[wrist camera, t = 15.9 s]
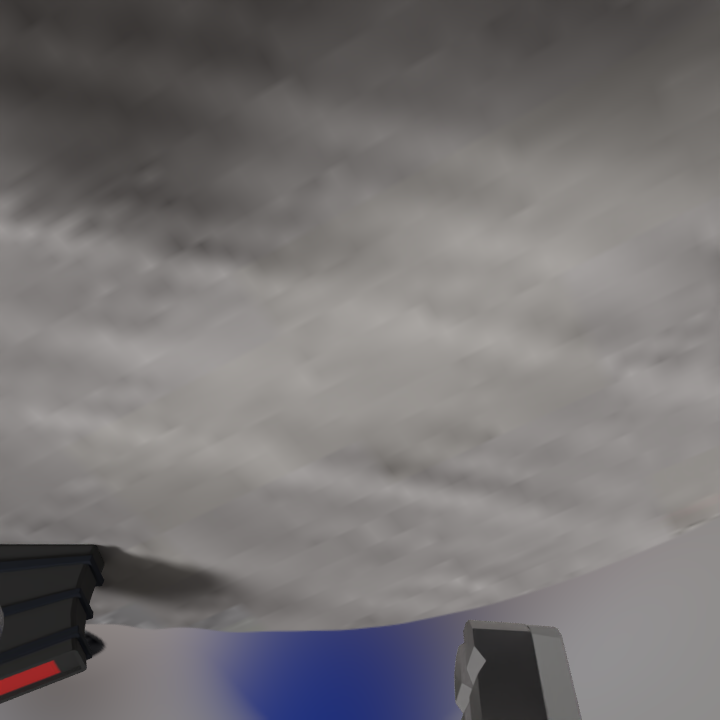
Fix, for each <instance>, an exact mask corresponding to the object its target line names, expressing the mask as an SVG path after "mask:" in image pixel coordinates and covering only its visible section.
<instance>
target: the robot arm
mask: <svg viewBox="0 0 720 720" xmlns="http://www.w3.org/2000/svg"><path fill="white" fill-rule="evenodd" d="M3 628H4V614H3V611H2V609H1V606H0V638H1V635H2V631H3ZM463 632H464V643H463V644H461V645H460V646H459V647H458V651H457V656H456V662H455V673H454V674H455V675H454V678H455V700H456V704H457V705H458V707H459V708H460V710H461V711H462V712H463V716H462V719H461V720H582V719H581V714H580V710H579V706H578V701H577V697H576V693H575V689H574V685H573V681H572V676H571V673H570V668H569V664H568V660H567V656H566V651H565V647H564V643H563V639H562V635H561V633H560V632H559V630H558V629H557V628H555V627H549V626H536V625H526V624H519V623H504V622H491V621H490V622H489V621H476V620H475V621H474V620H468V621H467V622H466V624H465V627H464V631H463Z"/></svg>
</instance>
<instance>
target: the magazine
mask: <svg viewBox="0 0 720 720" xmlns="http://www.w3.org/2000/svg"><path fill="white" fill-rule="evenodd" d="M103 567H104V562H103V560H102V557H101V555H100V553H99V551H98V548H97V547H96V546H95V545H0V606H1V609H2V611H3V614H4V628H3V631H2V635H1V638H0V704H1V703H3V702H6V701H8V700H11V699H13V698H16V697H19V696H21V695H24V694H26V693H29V692H31V691H34V690H36V689H39V688H42V687H44V686H47V685H49V684H52V683H55V682H57V681H60V680H62V679H65V678H67V677H70V676H73V675H75V674H78V673H80V672H83V671H85V670H86V668H87V667H86V660H88V659H90V658H92V650H91V648H90V646H89V644H88V642H87V640H86V639H85V632H84V630H85V623H86V620H89V619H92V618H93V611H92V609H91V607H90V605H89V603H90V600H91V596H92V593H93V591H94V588H95V587H97V586H102V584H103V582H104V579H103V577H102V574H101V572H102V569H103Z"/></svg>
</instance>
